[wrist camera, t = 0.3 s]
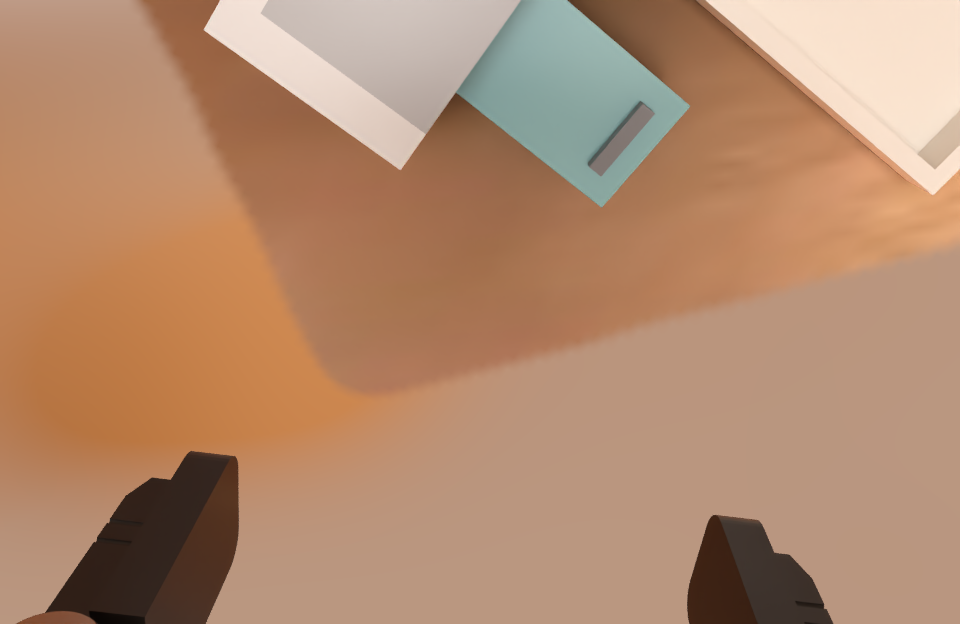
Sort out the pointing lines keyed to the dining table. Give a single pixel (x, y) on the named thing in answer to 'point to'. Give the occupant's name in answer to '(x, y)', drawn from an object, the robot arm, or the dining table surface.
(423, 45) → the box
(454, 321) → the dining table surface
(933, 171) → the tray
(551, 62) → the teal box
